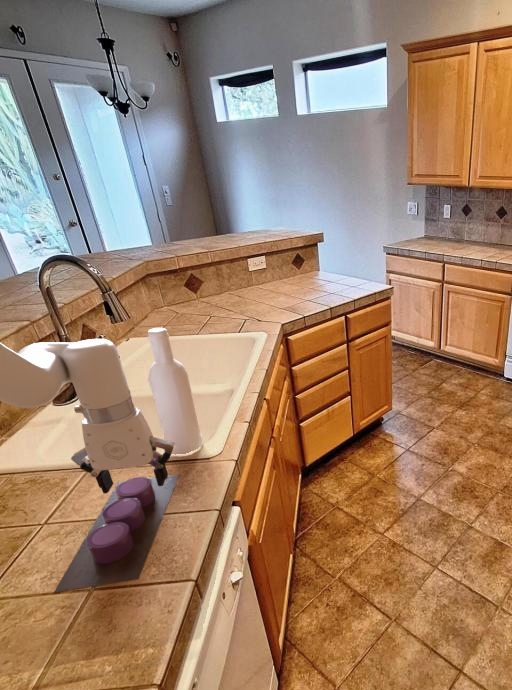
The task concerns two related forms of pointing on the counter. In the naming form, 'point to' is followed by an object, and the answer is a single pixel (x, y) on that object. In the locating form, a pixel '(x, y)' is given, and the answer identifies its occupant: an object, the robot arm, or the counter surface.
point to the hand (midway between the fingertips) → (136, 485)
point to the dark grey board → (130, 566)
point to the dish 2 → (137, 490)
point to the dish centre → (125, 513)
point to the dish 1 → (110, 542)
